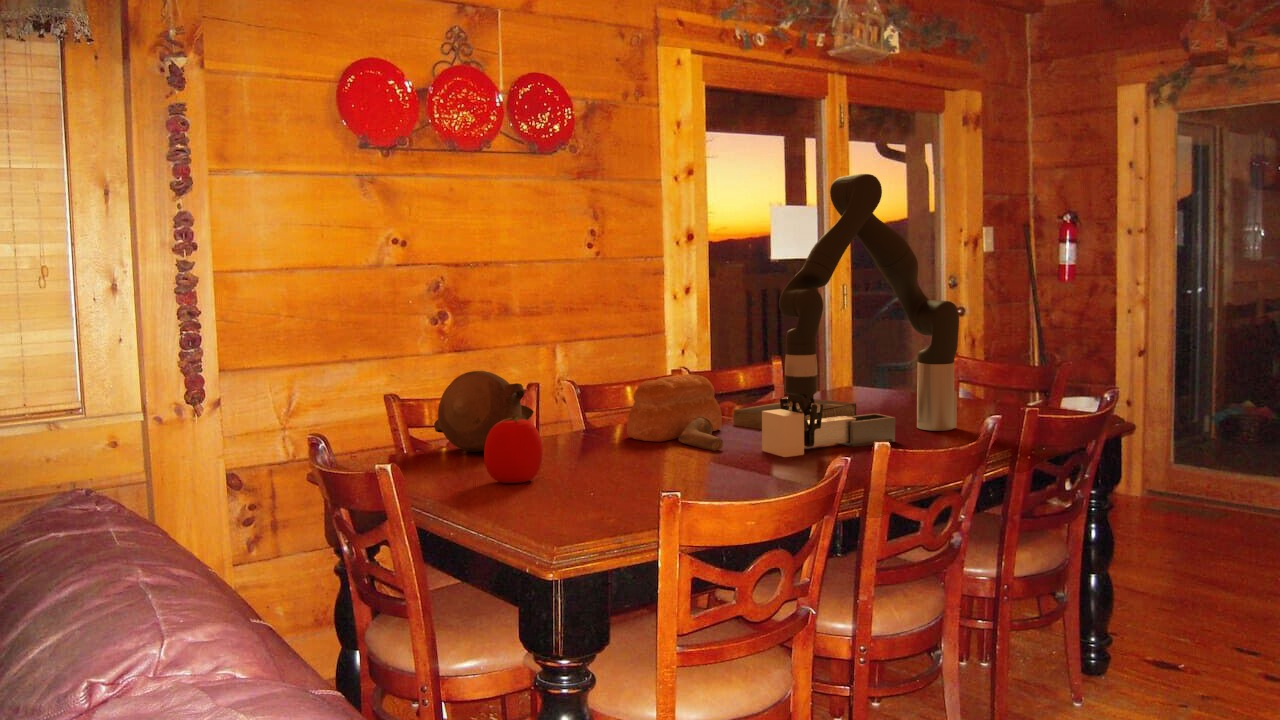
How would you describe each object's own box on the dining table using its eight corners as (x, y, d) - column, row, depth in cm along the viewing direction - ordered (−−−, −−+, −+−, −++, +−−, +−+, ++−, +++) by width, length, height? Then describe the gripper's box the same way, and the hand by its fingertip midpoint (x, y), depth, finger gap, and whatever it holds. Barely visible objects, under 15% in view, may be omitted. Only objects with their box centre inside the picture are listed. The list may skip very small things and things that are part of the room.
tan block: (781, 448, 255) (781, 409, 254) (804, 454, 247) (803, 413, 246) (762, 450, 252) (761, 411, 251) (784, 457, 244) (784, 416, 243)
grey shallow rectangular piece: (803, 413, 308) (803, 396, 307) (856, 421, 294) (856, 403, 293) (733, 426, 289) (733, 408, 289) (785, 435, 275) (785, 415, 274)
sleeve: (875, 437, 267) (875, 413, 266) (895, 441, 260) (895, 417, 260) (833, 442, 261) (834, 418, 260) (852, 447, 254) (853, 422, 254)
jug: (480, 462, 244) (546, 460, 271) (500, 379, 243) (565, 385, 270) (411, 439, 253) (482, 439, 280) (430, 359, 252) (500, 366, 279)
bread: (620, 438, 272) (619, 379, 271) (690, 425, 291) (689, 369, 289) (658, 444, 263) (657, 383, 261) (728, 430, 281) (727, 373, 279)
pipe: (710, 433, 251) (741, 421, 256) (666, 424, 264) (697, 413, 270) (713, 459, 252) (744, 447, 258) (670, 449, 265) (700, 437, 271)
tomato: (493, 490, 216) (490, 421, 215) (478, 479, 227) (476, 413, 225) (552, 483, 221) (550, 416, 220) (535, 473, 232) (533, 408, 230)
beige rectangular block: (843, 438, 260) (843, 414, 260) (856, 441, 256) (856, 417, 256) (776, 447, 251) (775, 422, 251) (788, 450, 247) (787, 425, 246)
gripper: (833, 375, 245) (833, 447, 247) (795, 369, 258) (795, 438, 260) (806, 377, 242) (806, 451, 244) (770, 371, 254) (770, 441, 256)
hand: (801, 444), depth 252 cm, fingers open, 5 cm apart
